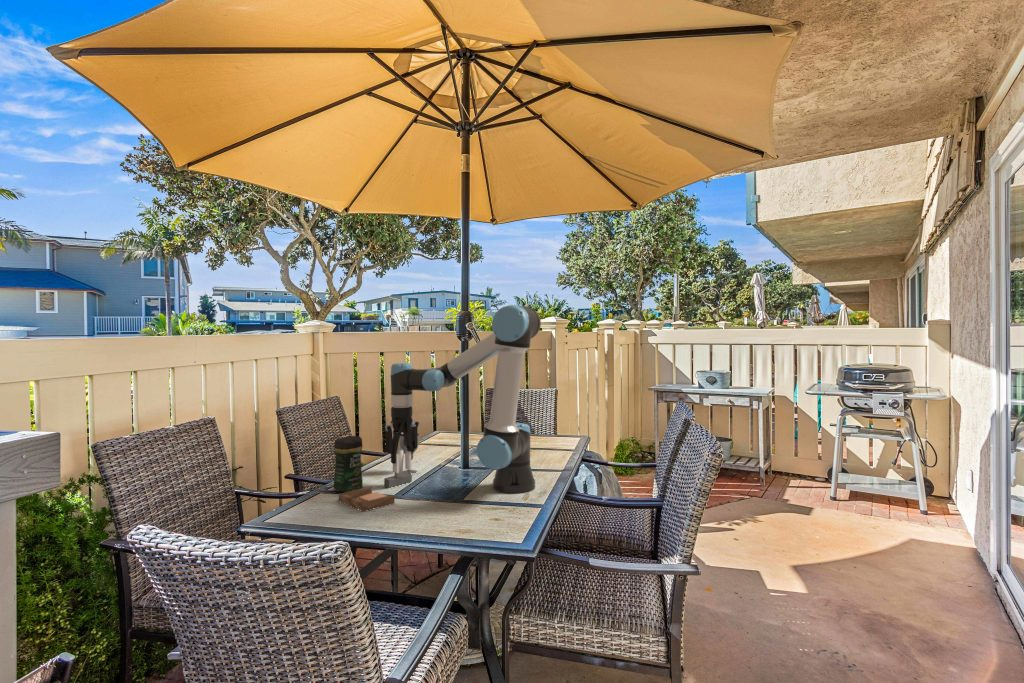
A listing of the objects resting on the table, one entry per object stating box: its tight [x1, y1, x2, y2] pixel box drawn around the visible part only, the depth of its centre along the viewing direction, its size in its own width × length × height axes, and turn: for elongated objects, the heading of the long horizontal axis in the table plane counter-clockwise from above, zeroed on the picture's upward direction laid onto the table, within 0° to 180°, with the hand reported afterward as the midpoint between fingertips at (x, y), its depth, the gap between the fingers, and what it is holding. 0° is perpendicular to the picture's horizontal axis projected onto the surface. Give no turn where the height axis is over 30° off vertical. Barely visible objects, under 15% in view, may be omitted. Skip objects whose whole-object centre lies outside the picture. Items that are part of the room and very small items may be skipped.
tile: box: [357, 491, 388, 502], centre depth 180 cm, size 7×7×2 cm
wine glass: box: [398, 432, 420, 474], centre depth 216 cm, size 8×8×15 cm
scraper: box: [383, 448, 413, 489], centre depth 198 cm, size 10×3×13 cm, turn 138°
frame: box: [338, 486, 395, 512], centre depth 179 cm, size 15×12×2 cm
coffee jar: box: [333, 435, 364, 493], centre depth 194 cm, size 10×8×19 cm
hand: (402, 470), depth 197 cm, fingers open, 5 cm apart
